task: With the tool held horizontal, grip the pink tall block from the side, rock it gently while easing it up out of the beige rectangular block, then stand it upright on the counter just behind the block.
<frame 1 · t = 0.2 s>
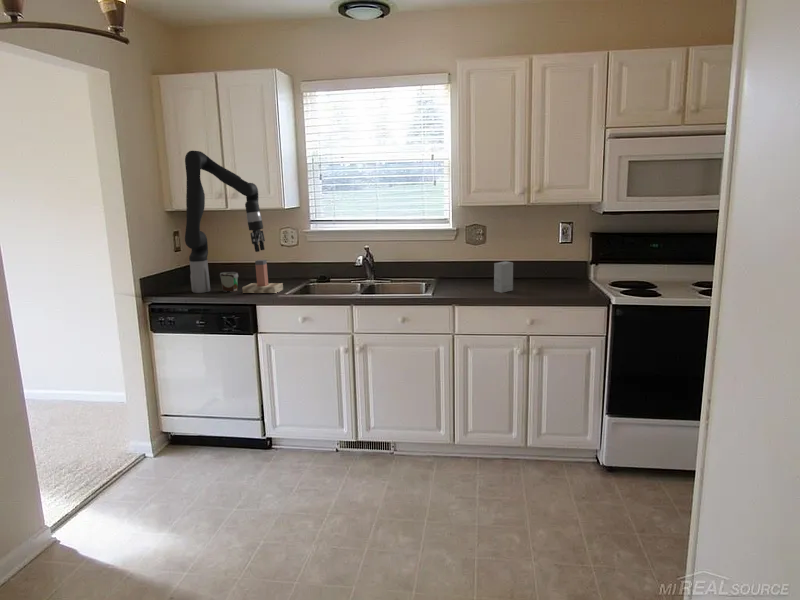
hand: (260, 250, 301), 22 cm above the counter, tool pointing down, fingers open, 8 cm apart
skincare box: (503, 291, 287), on the counter
pink tall block: (262, 276, 302), in the beige rectangular block
beige rectangular block: (263, 291, 304), on the counter
food container: (232, 291, 310), on the counter
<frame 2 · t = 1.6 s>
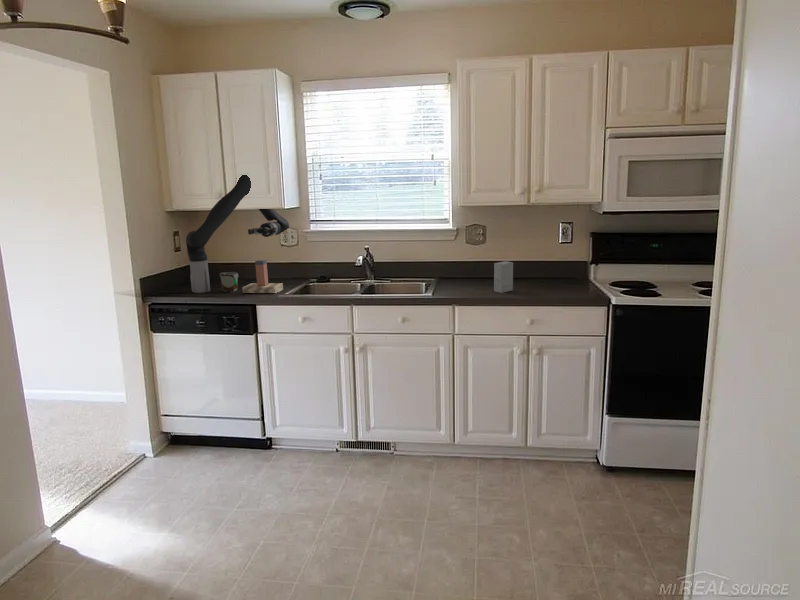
hand: (256, 232, 297), 32 cm above the counter, tool horizontal, fingers open, 8 cm apart
nothing on the counter moved.
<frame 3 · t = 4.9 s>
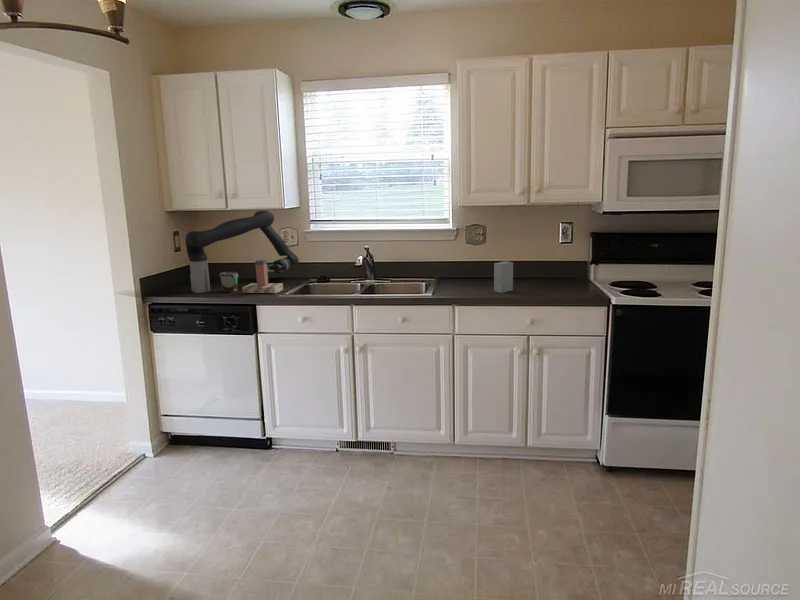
hand: (269, 270, 313), 10 cm above the counter, tool horizontal, fingers open, 8 cm apart
nothing on the counter moved.
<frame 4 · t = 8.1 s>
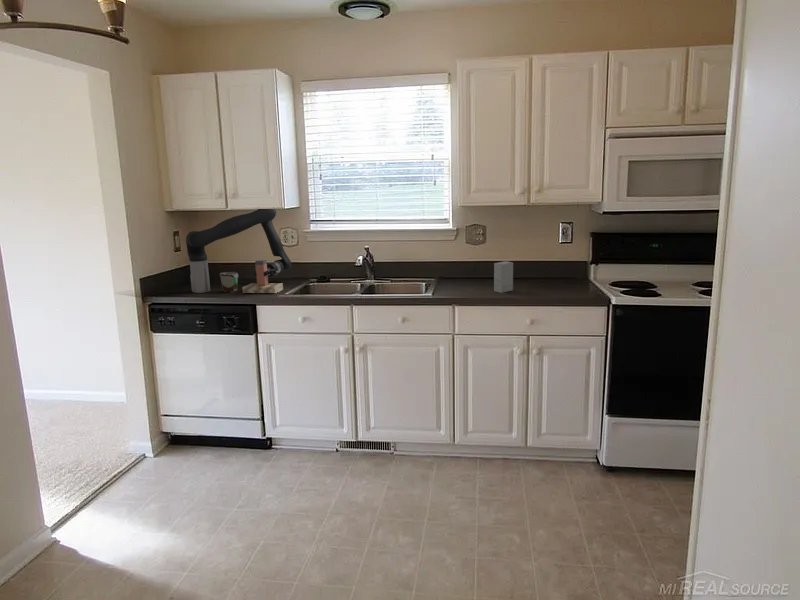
hand: (259, 274, 300), 10 cm above the counter, tool horizontal, fingers closed on pink tall block, 4 cm apart
pink tall block: (262, 276, 302), in the beige rectangular block, touching gripper
everything else where it was.
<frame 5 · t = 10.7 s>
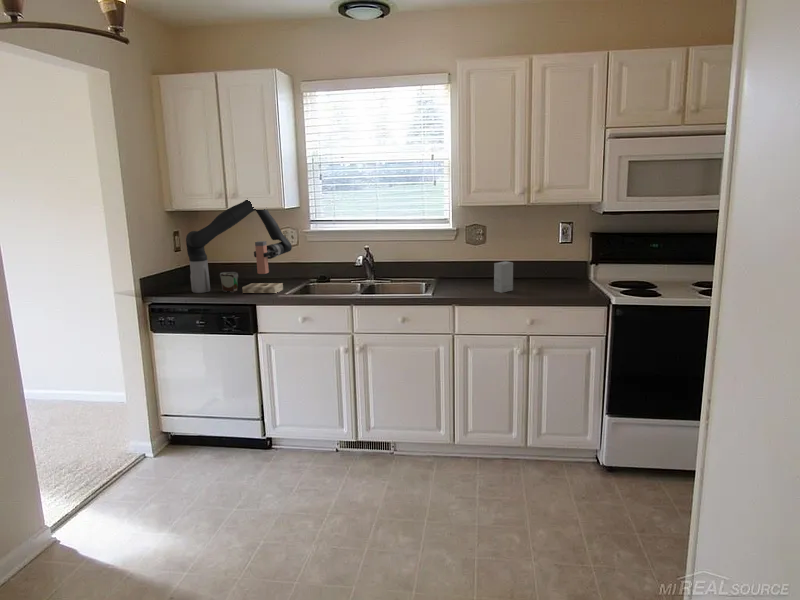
hand: (259, 255, 299), 20 cm above the counter, tool horizontal, fingers closed on pink tall block, 4 cm apart
pink tall block: (261, 257, 302), point 18 cm above the counter, touching gripper
everything else where it was.
when the fingers open (11 cm above the counter, at t = 13.7 s): pink tall block stays where it is, on the counter.
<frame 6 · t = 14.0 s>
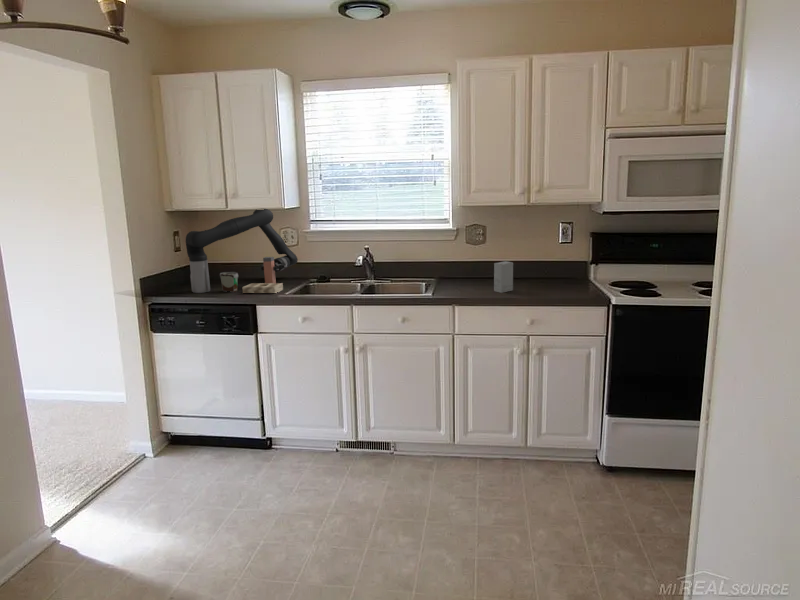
hand: (268, 268, 312), 11 cm above the counter, tool horizontal, fingers open, 6 cm apart
pink tall block: (269, 272, 315), on the counter
everything else where it was.
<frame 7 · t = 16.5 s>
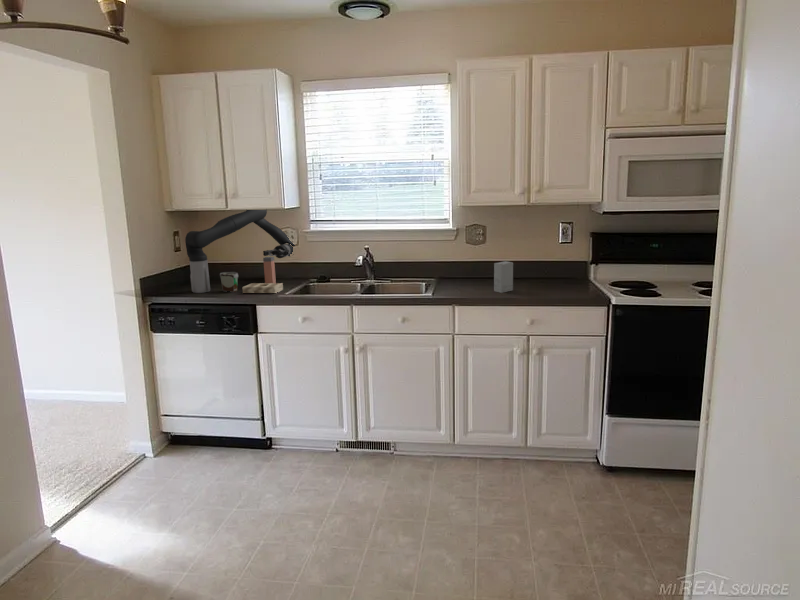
hand: (271, 254, 317), 18 cm above the counter, tool horizontal, fingers open, 8 cm apart
nothing on the counter moved.
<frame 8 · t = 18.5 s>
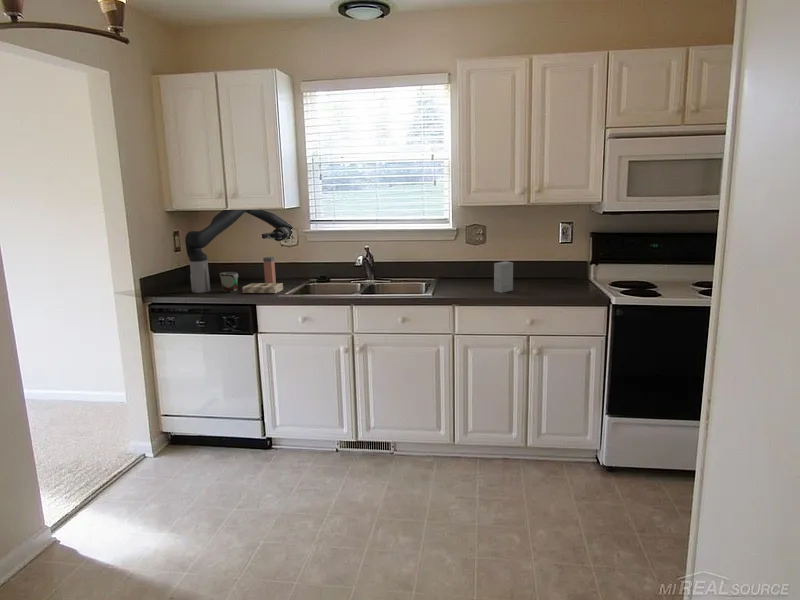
hand: (270, 236, 315), 28 cm above the counter, tool horizontal, fingers open, 8 cm apart
nothing on the counter moved.
at the end: pink tall block inside the target area (0.1 cm from its centre), on the counter; pink tall block tilted 0°; the gripper is holding nothing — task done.
